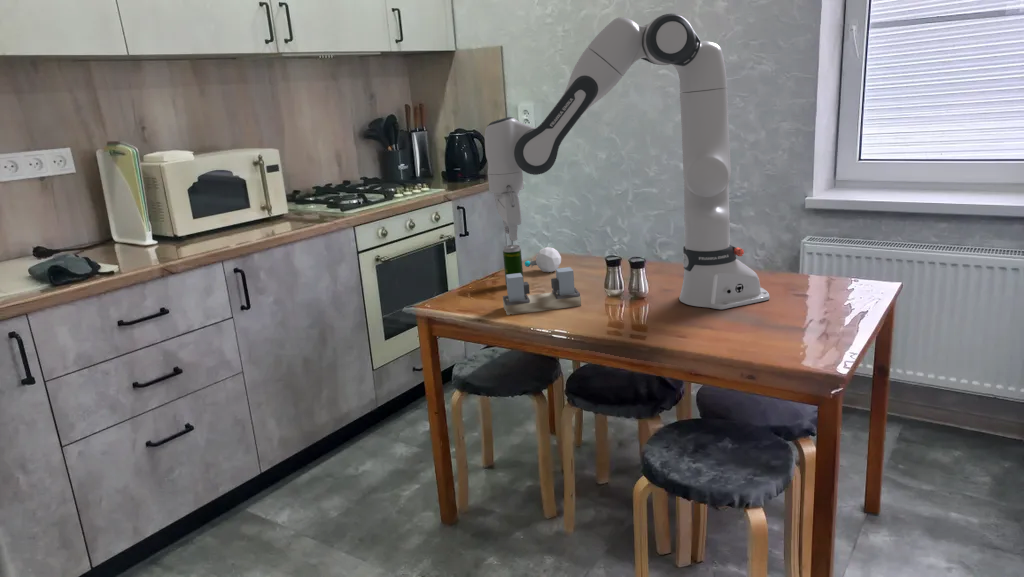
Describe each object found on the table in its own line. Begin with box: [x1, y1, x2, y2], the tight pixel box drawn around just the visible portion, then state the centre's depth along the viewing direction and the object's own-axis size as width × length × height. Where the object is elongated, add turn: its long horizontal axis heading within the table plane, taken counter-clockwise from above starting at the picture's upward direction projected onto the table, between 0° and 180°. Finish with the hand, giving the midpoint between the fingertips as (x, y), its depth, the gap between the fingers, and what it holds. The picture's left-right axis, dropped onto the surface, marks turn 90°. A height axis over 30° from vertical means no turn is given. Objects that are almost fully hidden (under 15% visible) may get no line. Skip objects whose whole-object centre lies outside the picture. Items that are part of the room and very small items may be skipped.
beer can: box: [502, 244, 525, 286], centre depth 209 cm, size 5×5×12 cm
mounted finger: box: [550, 266, 575, 296], centre depth 188 cm, size 6×4×7 cm
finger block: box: [505, 273, 531, 302], centre depth 187 cm, size 6×4×7 cm
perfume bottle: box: [524, 246, 562, 273], centre depth 222 cm, size 8×8×12 cm
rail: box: [502, 287, 582, 316], centre depth 189 cm, size 20×7×3 cm, turn 98°
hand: (511, 236), depth 183 cm, fingers open, 8 cm apart
